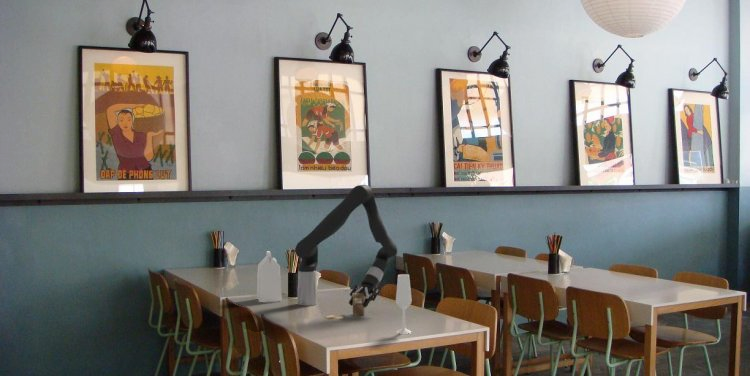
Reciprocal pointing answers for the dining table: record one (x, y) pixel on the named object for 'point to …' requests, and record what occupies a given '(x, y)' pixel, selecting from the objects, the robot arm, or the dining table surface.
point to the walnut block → (358, 304)
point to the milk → (269, 280)
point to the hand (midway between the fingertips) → (357, 305)
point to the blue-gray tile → (350, 315)
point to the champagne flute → (403, 298)
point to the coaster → (333, 317)
